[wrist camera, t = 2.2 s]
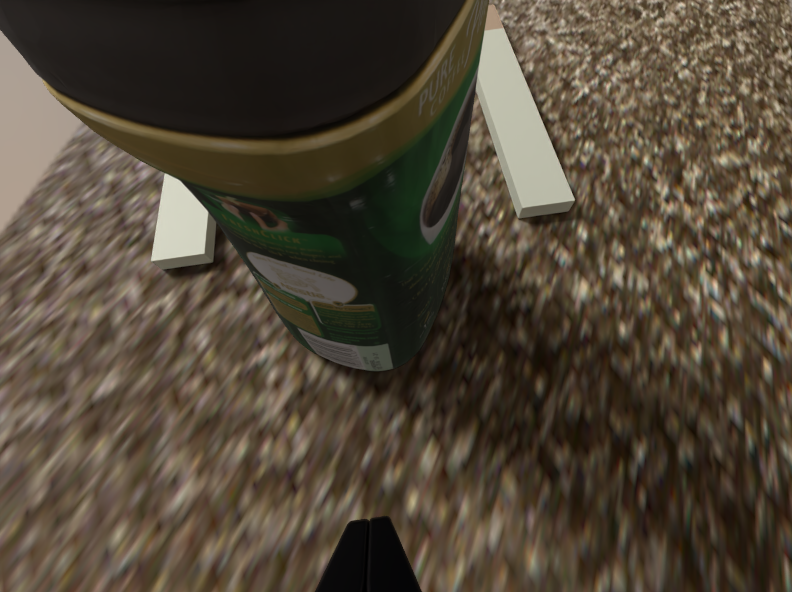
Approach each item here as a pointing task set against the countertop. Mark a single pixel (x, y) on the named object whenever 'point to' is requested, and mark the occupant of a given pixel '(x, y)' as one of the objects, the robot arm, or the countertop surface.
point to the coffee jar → (290, 139)
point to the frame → (509, 127)
